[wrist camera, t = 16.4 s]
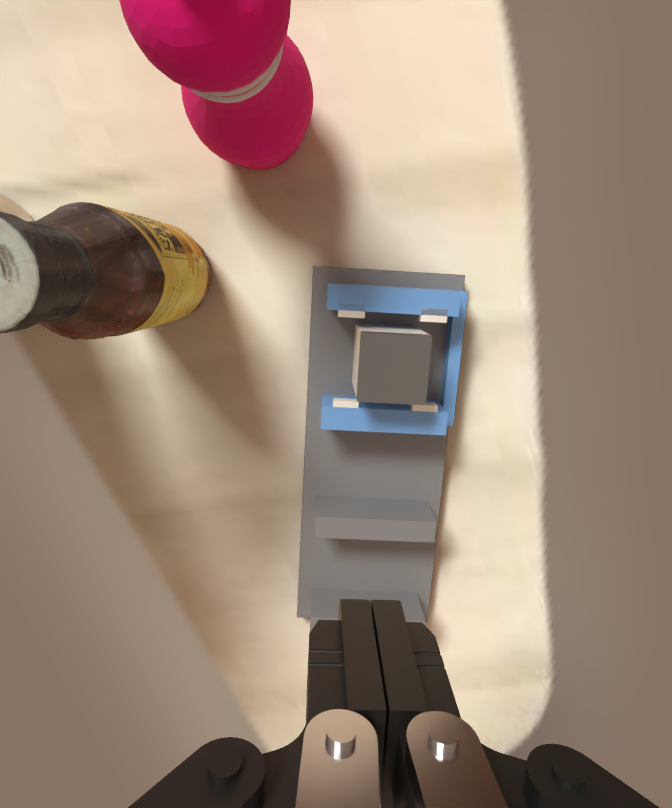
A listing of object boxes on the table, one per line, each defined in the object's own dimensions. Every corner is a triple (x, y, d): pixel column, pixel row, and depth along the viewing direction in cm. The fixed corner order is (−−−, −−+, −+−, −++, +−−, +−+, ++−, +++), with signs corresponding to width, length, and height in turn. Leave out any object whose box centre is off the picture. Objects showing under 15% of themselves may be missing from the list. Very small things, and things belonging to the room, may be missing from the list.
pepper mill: (212, 185, 36) (81, 84, 16) (190, 63, 34) (14, -213, 15) (322, 169, 36) (320, 48, 16) (304, 45, 34) (280, -254, 15)
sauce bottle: (221, 238, 37) (109, 201, 17) (204, 329, 38) (81, 389, 19) (123, 213, 36) (-106, 146, 17) (109, 306, 38) (-117, 344, 18)
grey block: (351, 381, 38) (357, 401, 32) (355, 323, 37) (361, 332, 31) (409, 384, 38) (425, 405, 32) (415, 326, 37) (432, 336, 31)
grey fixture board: (297, 605, 43) (294, 648, 38) (313, 266, 37) (312, 265, 32) (423, 610, 44) (436, 652, 39) (459, 275, 38) (479, 275, 33)
